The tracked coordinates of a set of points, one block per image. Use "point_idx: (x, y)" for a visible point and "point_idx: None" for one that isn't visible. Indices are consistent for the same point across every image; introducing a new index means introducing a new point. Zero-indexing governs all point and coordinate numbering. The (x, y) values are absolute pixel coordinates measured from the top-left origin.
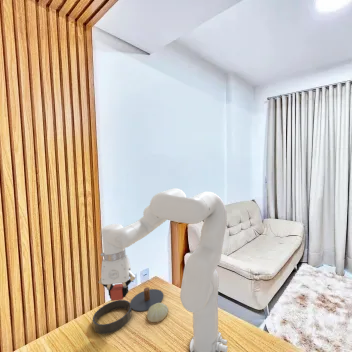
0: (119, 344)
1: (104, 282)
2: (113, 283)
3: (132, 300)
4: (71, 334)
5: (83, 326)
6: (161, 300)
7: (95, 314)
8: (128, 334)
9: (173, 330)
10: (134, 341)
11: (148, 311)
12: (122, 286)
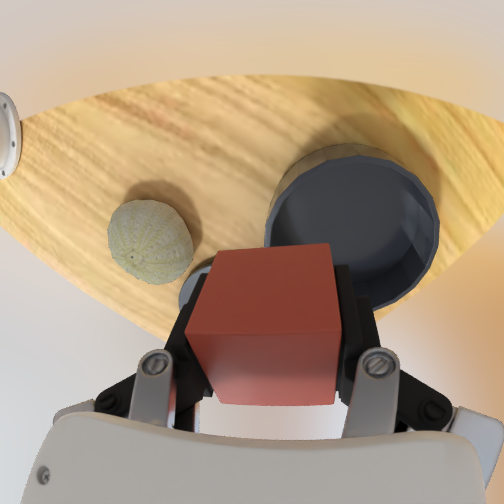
0: (246, 89)
1: (438, 473)
2: (251, 450)
3: None
4: (482, 173)
5: (458, 207)
6: (179, 304)
7: (434, 237)
8: (233, 140)
9: (74, 169)
10: (185, 106)
11: (173, 241)
12: (217, 375)
